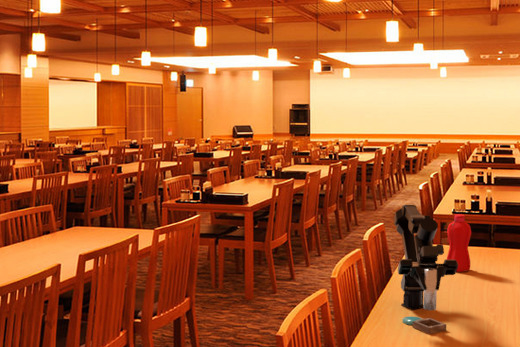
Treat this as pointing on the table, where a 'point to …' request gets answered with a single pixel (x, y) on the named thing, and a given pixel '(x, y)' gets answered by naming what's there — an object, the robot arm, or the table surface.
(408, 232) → the robot arm
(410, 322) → the shiny teal dome
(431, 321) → the open brown square box
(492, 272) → the table surface
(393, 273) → the table surface
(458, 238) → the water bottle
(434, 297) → the peg
